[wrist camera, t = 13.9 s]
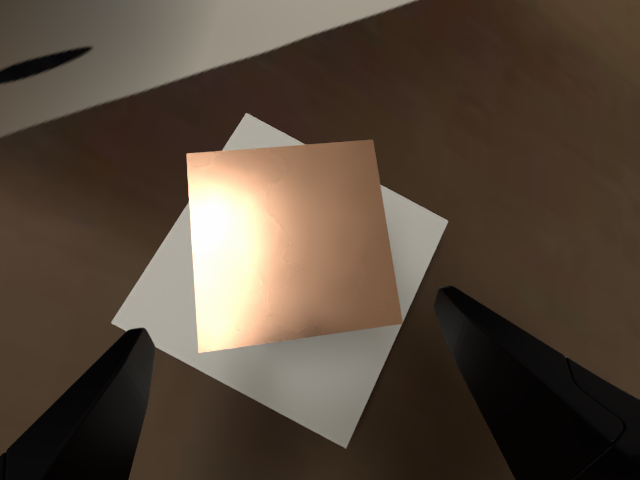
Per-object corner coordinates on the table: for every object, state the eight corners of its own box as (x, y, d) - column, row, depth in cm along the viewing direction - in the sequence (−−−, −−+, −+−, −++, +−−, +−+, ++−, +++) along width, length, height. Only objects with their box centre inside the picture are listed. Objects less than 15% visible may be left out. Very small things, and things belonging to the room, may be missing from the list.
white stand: (427, 230, 22) (448, 221, 19) (337, 425, 19) (345, 448, 16) (252, 137, 22) (246, 113, 19) (138, 318, 19) (110, 322, 16)
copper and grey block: (347, 308, 18) (402, 323, 9) (246, 322, 17) (198, 352, 8) (334, 213, 19) (372, 139, 10) (238, 222, 18) (186, 153, 9)
